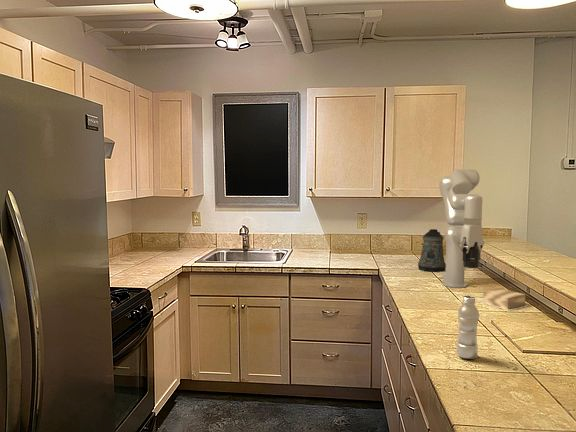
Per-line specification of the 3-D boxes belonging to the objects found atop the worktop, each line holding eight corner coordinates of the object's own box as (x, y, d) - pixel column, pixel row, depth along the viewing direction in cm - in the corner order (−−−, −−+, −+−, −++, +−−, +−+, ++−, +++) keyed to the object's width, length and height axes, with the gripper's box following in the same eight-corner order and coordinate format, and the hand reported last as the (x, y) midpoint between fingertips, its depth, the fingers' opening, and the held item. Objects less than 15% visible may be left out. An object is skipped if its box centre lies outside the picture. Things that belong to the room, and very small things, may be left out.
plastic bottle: (472, 353, 151) (474, 294, 149) (481, 361, 144) (483, 299, 142) (452, 353, 151) (454, 294, 149) (461, 361, 144) (463, 300, 142)
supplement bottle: (469, 268, 207) (470, 242, 205) (459, 265, 213) (460, 240, 212) (482, 268, 208) (483, 242, 207) (472, 265, 215) (473, 239, 214)
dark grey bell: (418, 271, 277) (419, 231, 275) (417, 265, 296) (418, 227, 294) (447, 273, 273) (448, 231, 271) (443, 266, 292) (445, 228, 290)
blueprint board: (478, 304, 208) (478, 301, 208) (498, 299, 215) (498, 297, 215) (510, 313, 194) (510, 310, 194) (530, 308, 201) (530, 306, 201)
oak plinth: (483, 302, 207) (484, 291, 206) (500, 299, 212) (501, 288, 212) (507, 309, 196) (508, 298, 196) (524, 305, 202) (525, 294, 202)
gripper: (478, 220, 216) (477, 257, 218) (452, 222, 208) (451, 261, 210) (492, 221, 210) (490, 260, 211) (466, 224, 201) (465, 263, 203)
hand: (471, 260), depth 211 cm, fingers closed on supplement bottle, 6 cm apart
